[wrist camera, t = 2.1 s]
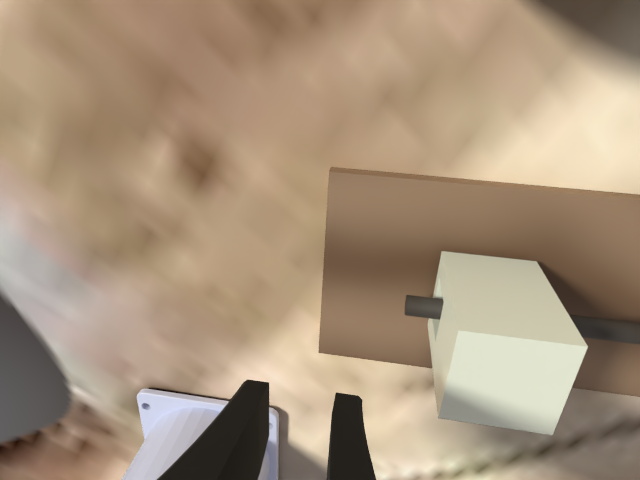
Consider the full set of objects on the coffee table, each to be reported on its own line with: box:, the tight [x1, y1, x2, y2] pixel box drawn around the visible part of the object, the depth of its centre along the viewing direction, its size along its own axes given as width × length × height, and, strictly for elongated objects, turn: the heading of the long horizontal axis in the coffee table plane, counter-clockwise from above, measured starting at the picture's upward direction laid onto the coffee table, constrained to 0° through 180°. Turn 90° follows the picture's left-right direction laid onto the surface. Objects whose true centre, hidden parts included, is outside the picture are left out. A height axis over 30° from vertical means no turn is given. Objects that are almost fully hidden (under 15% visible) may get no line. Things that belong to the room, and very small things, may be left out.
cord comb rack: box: [319, 167, 640, 397], centre depth 16 cm, size 9×20×7 cm, turn 87°
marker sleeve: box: [428, 251, 588, 435], centre depth 16 cm, size 4×4×5 cm
